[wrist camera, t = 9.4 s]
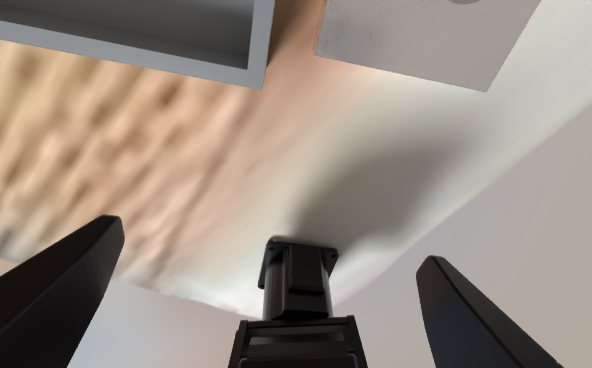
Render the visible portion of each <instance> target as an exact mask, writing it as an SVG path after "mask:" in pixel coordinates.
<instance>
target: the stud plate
mask: <svg viewBox="0 0 592 368" xmlns="http://www.w3.org/2000/svg"><path fill="white" fill-rule="evenodd" d="M540 1H541V0H324V1H323V5H322V10H321V14H320V19H319V23H318V28H317V32H316V37H315V41H314V46H313V51H314V54H315V56H319V57H324V58H329V59H333V60H338V61H343V62H348V63H352V64H357V65H362V66H366V67H371V68H376V69H380V70H385V71H390V72H394V73H399V74H404V75H408V76H413V77H418V78H422V79H427V80H432V81H436V82H441V83H446V84H450V85H455V86H460V87H464V88H469V89H474V90H478V91H483V92H487V90H488V88H489V87H490V85H491V83H492V82H493V80H494V78H495V77H496V75H497V73H498V72H499V70H500V68H501V67H502V65H503V63H504V61H505V60H506V58H507V56H508V55H509V53H510V51H511V50H512V48H513V46H514V45H515V43H516V41H517V40H518V38H519V36H520V35H521V33H522V31H523V30H524V28H525V26H526V24H527V23H528V21H529V19H530V18H531V16H532V14H533V13H534V11H535V9H536V8H537V6H538V4H539V3H540Z"/></svg>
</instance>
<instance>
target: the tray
mask: <svg viewBox="0 0 592 368" xmlns="http://www.w3.org/2000/svg"><path fill="white" fill-rule="evenodd" d="M275 3H276V0H0V40H5V41H10V42H16V43H21V44H26V45H31V46H36V47H41V48H47V49H52V50H57V51H62V52H67V53H73V54H78V55H83V56H88V57H93V58H99V59H104V60H109V61H114V62H119V63H125V64H130V65H135V66H140V67H145V68H150V69H156V70H161V71H166V72H171V73H176V74H182V75H187V76H192V77H197V78H202V79H208V80H213V81H218V82H223V83H228V84H234V85H239V86H244V87H249V88H254V89H259V90H262V88H263V82H264V77H265V72H266V66H267V59H268V52H269V45H270V38H271V31H272V24H273V17H274V10H275Z"/></svg>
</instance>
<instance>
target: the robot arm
mask: <svg viewBox="0 0 592 368" xmlns="http://www.w3.org/2000/svg"><path fill="white" fill-rule="evenodd" d="M124 241H125V236H124V231H123V226H122V221H121V218H120V217H119V216H114V215H106V214H105V215H101V216H99V217H97V218H96V219H94V220H92V221H91V222H89V223H87V224H86V225H84V226H82V227H81V228H79V229H78V230H76V231H74V232H73V233H71V234H69V235H68V236H66V237H64V238H63V239H61V240H59V241H58V242H56V243H54V244H53V245H51V246H49V247H48V248H46V249H44V250H43V251H41V252H39V253H38V254H36V255H35V256H33V257H31V258H30V259H28V260H26V261H25V262H23V263H21V264H20V265H18V266H17V267H15V268H13V269H11V270H10V271H8V272H6V273H5V274H3V275H2V276H0V368H67V366H68V364H69V362H70V360H71V358H72V356H73V355H74V353H75V351H76V349H77V347H78V345H79V343H80V341H81V339H82V337H83V335H84V334H85V332H86V330H87V328H88V326H89V324H90V322H91V320H92V318H93V316H94V314H95V312H96V311H97V309H98V307H99V305H100V303H101V301H102V299H103V297H104V294H105V292H106V289H107V287H108V284H109V282H110V279H111V276H112V274H113V271H114V269H115V266H116V263H117V261H118V258H119V256H120V253H121V250H122V248H123V245H124ZM338 257H339V254H338V250H336V249H331V248H323V247H314V246H306V245H298V244H290V243H282V242H273V241H270V242H268V243H267V244H266V248H265V253H264V257H263V262H262V267H261V271H260V276H259V280H258V288H260V289H265V290H264V304H263V319H262V320H261V321H248V320H241V321H240V325H239V330H237V332H236V335H235V340H234V344H233V349H232V353H231V357H230V361H229V365H228V368H368V366H367V362H366V358H365V355H364V351H363V347H362V343H361V340H360V336H359V333H358V329H357V325H356V321H355V318H354V315H347V317H333V311H332V302H331V295H330V287H329V277H330V275H331V273H332V270H333V268H334V266H335V264H336V261H337V259H338ZM416 280H417V286H418V292H419V298H420V304H421V310H422V315H423V321H424V325H425V329H426V333H427V337H428V341H429V344H430V348H431V351H432V355H433V358H434V362H435V366H436V368H564V367H563V366H562V365H561V364H559V363H557V361H556V360H555V359H554V358H553V357H552V356H551V355H550V354H548V353H547V352H546V351H545V350H544V349H543V348H542V347H541V346H540V345H539V344H538V343H536V342H535V341H534V340H533V339H532V338H531V337H530V336H529V335H528V334H527V333H526V332H525V331H523V330H522V329H521V328H520V327H519V326H518V325H517V324H516V323H515V322H514V321H512V320H511V319H510V318H509V317H508V316H507V315H506V314H505V313H504V312H503V311H502V310H500V309H499V308H498V307H497V306H496V305H495V304H494V303H493V302H492V301H491V300H490V299H488V298H487V297H486V296H485V295H484V294H483V293H482V292H481V291H480V290H479V289H477V288H476V287H475V286H474V285H473V284H472V283H471V282H470V281H469V280H468V279H467V278H465V277H464V276H463V275H462V274H461V273H460V272H459V271H458V270H457V269H456V268H455V267H453V266H452V265H451V264H450V263H449V262H448V261H447V260H446V259H445V258H443V257H441V256H433V255H430V256H428V257H427V258H426V259H425V261H424V262H423V263H422V265H421V266H420V268H419V269H418V271H417V273H416Z"/></svg>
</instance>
